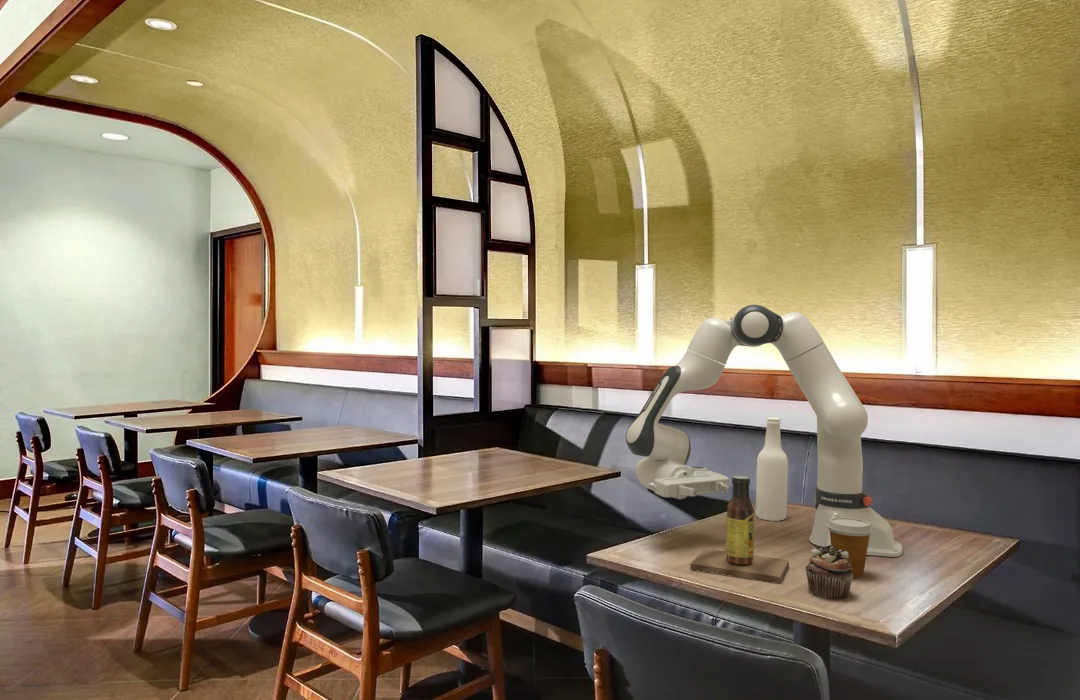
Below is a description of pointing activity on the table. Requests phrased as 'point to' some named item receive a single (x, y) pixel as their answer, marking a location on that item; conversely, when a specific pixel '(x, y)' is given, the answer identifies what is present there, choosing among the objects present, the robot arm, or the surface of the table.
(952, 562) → the table surface
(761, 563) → the walnut board
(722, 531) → the table surface
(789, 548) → the table surface
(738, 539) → the sauce bottle
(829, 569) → the cupcake
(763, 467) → the alcohol
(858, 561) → the disposable coffee cup
